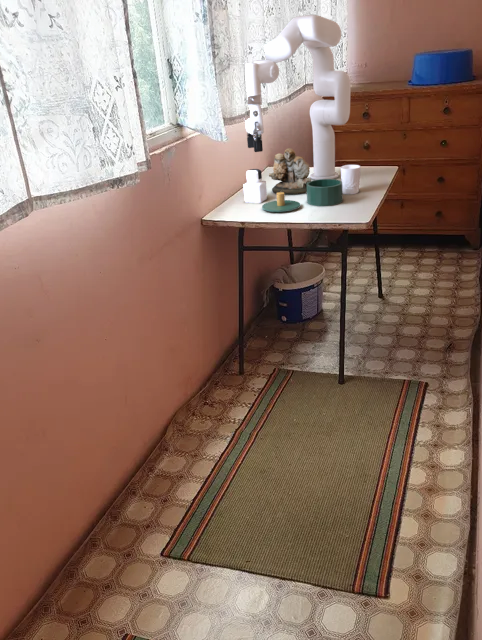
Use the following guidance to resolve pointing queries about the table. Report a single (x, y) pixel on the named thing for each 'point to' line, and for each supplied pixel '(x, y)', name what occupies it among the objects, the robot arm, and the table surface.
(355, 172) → the white cup
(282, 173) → the owl figurine
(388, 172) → the table surface
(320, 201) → the tin
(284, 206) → the lid
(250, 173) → the medicine bottle
